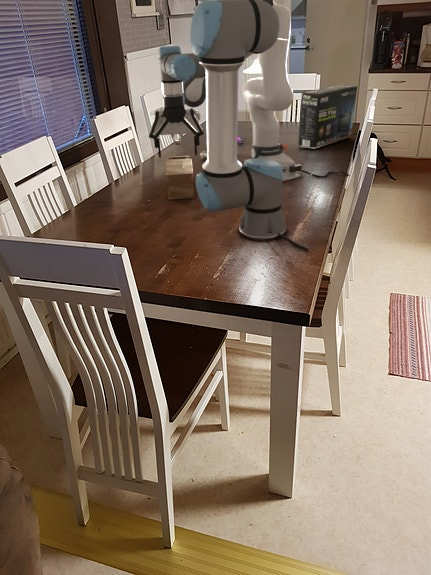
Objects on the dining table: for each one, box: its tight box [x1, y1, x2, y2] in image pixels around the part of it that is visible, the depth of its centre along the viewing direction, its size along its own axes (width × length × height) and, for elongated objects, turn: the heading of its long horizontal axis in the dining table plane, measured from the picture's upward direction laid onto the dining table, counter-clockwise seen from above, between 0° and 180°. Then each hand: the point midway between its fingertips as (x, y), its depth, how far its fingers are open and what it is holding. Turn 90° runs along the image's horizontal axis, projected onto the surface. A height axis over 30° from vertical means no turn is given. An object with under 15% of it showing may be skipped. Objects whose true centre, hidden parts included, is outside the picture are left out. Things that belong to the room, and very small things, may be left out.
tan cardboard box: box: [165, 158, 195, 201], centre depth 186 cm, size 21×10×10 cm, turn 4°
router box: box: [297, 84, 358, 151], centre depth 238 cm, size 36×11×27 cm, turn 134°
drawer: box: [168, 155, 191, 160], centre depth 195 cm, size 25×9×8 cm, turn 4°
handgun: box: [237, 136, 244, 146], centre depth 255 cm, size 21×8×2 cm, turn 11°
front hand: (178, 155), depth 173 cm, fingers open, 13 cm apart
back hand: (177, 144), depth 198 cm, fingers closed
